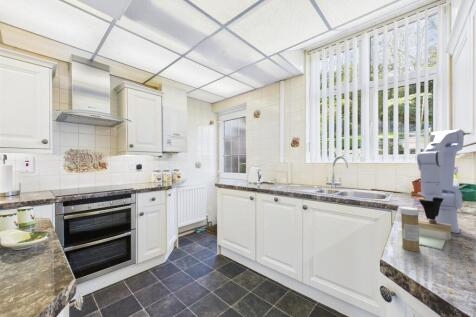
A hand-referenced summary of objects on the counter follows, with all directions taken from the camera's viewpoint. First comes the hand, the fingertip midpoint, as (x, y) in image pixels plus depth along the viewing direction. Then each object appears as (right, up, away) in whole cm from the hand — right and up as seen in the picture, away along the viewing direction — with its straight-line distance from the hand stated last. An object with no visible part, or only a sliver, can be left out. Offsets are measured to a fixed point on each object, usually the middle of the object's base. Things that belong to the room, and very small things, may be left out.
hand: (432, 217), depth 76 cm
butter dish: (0, -7, 0) cm, 7 cm away
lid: (0, -4, 0) cm, 4 cm away
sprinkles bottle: (-18, -7, -11) cm, 22 cm away
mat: (-7, -7, -6) cm, 12 cm away
